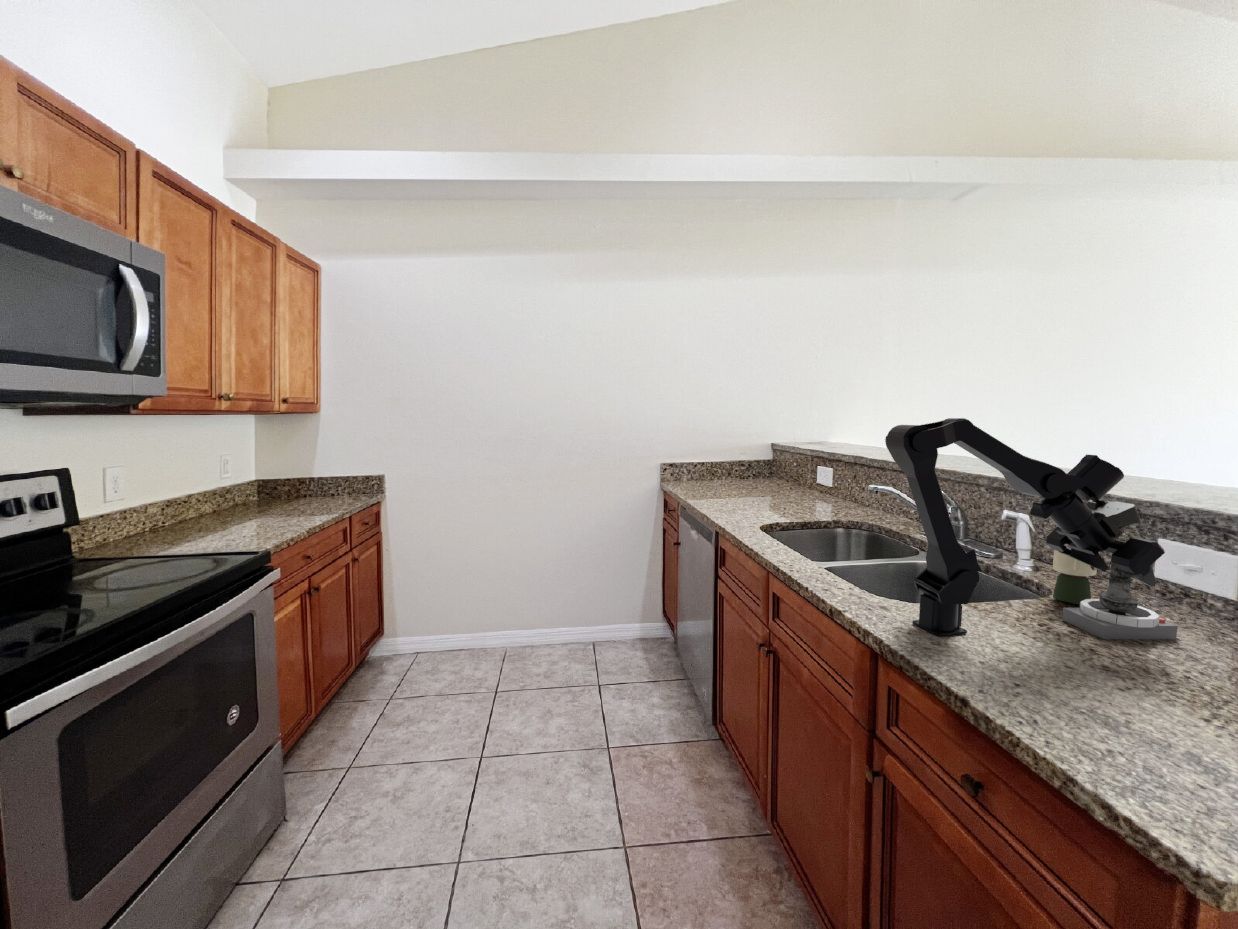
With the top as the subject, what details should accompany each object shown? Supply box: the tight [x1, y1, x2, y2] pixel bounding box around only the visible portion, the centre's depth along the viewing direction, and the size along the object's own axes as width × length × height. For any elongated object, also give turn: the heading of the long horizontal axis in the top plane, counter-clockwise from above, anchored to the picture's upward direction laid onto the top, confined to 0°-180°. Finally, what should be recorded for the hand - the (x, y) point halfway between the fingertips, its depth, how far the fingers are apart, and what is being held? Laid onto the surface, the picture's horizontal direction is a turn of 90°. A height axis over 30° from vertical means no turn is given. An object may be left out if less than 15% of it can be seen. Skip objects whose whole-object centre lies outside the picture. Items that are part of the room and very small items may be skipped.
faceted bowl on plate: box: [1061, 598, 1178, 640], centre depth 100 cm, size 13×10×4 cm
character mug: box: [1052, 550, 1098, 606], centre depth 114 cm, size 11×7×13 cm, turn 145°
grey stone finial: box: [1096, 562, 1141, 617], centre depth 100 cm, size 6×6×12 cm
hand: (1128, 576), depth 99 cm, fingers open, 9 cm apart
